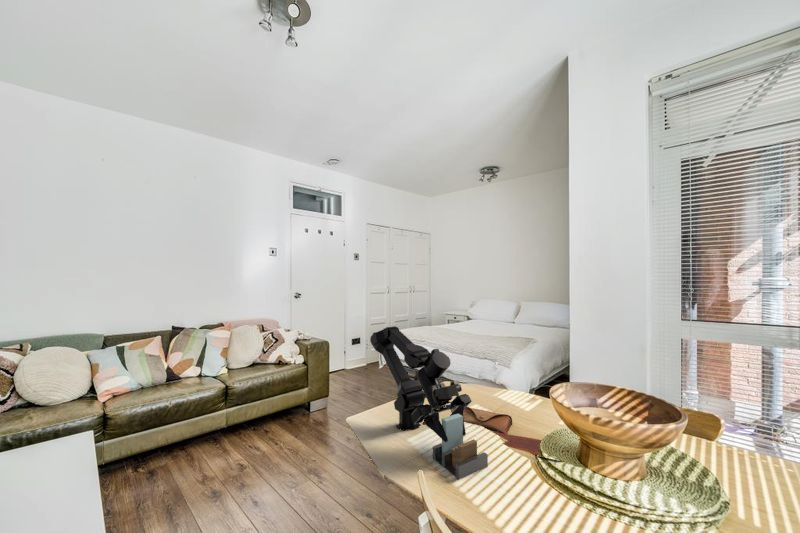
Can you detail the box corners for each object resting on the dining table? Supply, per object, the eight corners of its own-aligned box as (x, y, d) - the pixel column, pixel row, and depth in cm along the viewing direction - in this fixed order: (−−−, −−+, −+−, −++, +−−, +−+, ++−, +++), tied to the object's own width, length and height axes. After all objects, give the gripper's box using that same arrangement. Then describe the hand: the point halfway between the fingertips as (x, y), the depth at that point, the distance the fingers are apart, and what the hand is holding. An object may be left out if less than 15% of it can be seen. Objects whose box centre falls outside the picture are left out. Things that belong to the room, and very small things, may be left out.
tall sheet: (442, 458, 88) (441, 418, 89) (458, 452, 91) (458, 413, 92) (446, 462, 87) (446, 421, 87) (463, 455, 90) (462, 416, 90)
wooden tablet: (563, 447, 96) (562, 441, 96) (564, 465, 87) (564, 459, 87) (474, 429, 107) (474, 424, 108) (467, 444, 98) (467, 438, 98)
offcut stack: (452, 465, 85) (451, 441, 85) (467, 459, 88) (467, 435, 88) (461, 473, 82) (460, 447, 82) (477, 466, 85) (476, 441, 85)
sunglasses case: (454, 422, 111) (457, 402, 114) (459, 426, 116) (462, 406, 119) (508, 435, 102) (510, 412, 105) (511, 437, 108) (513, 416, 111)
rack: (432, 460, 89) (432, 446, 89) (460, 450, 94) (459, 436, 94) (458, 482, 79) (458, 466, 80) (487, 469, 85) (487, 454, 85)
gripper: (416, 377, 88) (441, 435, 78) (467, 367, 98) (495, 417, 88) (401, 397, 95) (423, 452, 85) (450, 385, 104) (475, 434, 95)
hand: (455, 438), depth 88 cm, fingers closed on tall sheet, 6 cm apart
